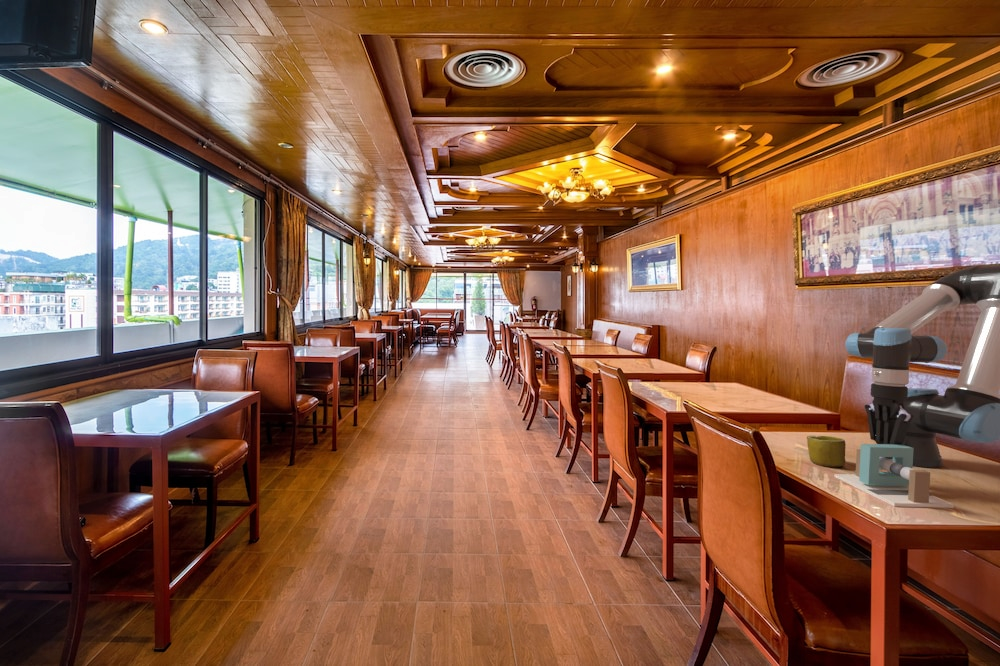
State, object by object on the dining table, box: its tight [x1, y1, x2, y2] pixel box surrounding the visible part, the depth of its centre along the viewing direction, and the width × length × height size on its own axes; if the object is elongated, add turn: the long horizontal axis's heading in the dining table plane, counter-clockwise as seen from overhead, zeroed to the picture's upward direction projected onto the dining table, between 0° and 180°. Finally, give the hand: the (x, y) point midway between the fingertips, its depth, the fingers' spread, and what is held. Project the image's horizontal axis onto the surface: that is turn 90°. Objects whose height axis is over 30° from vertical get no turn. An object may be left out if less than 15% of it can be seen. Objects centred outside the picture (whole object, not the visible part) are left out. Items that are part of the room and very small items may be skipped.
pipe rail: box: [833, 449, 955, 509], centre depth 112 cm, size 19×14×8 cm
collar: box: [859, 443, 914, 486], centre depth 113 cm, size 3×11×10 cm, turn 89°
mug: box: [806, 434, 846, 468], centre depth 134 cm, size 12×10×10 cm
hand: (884, 469), depth 119 cm, fingers closed
